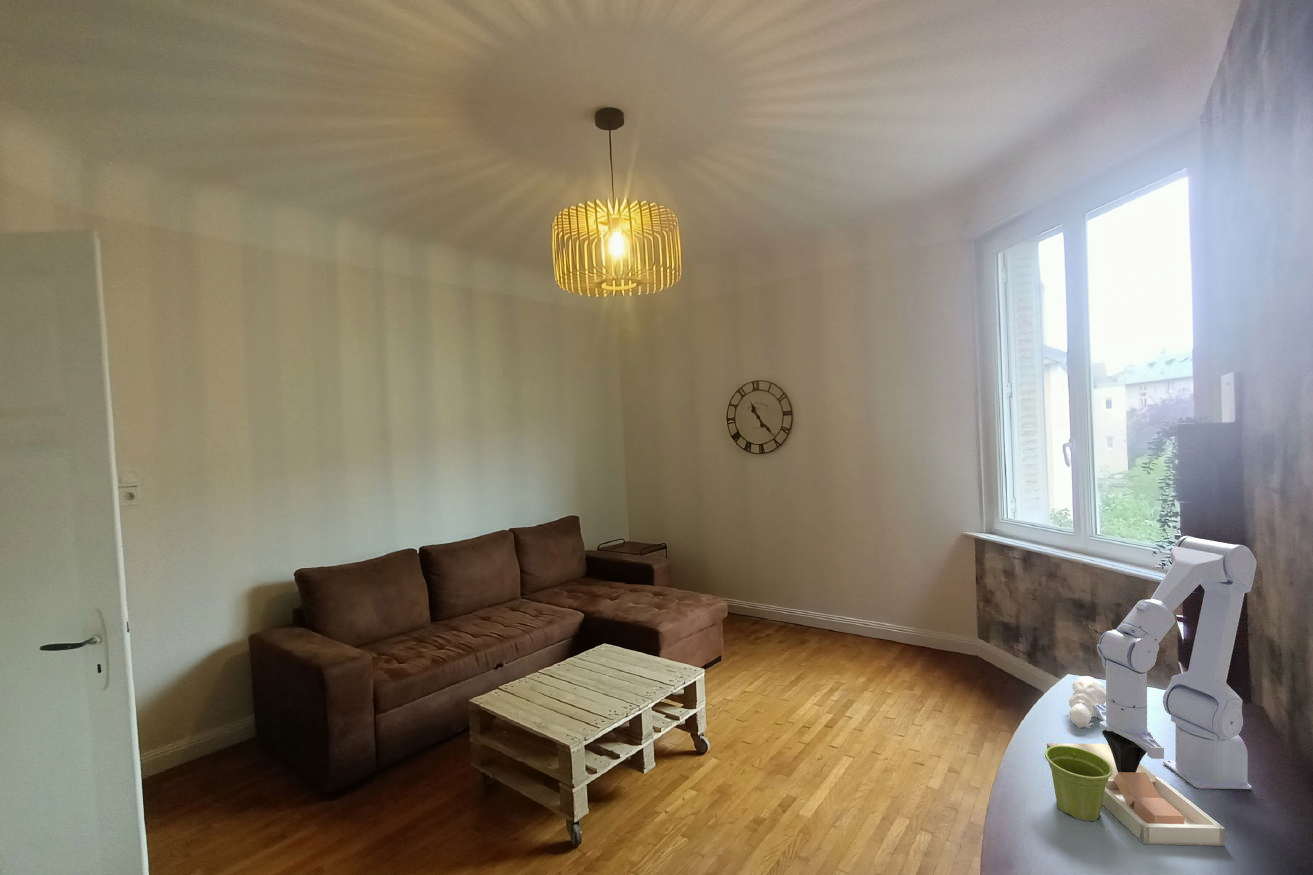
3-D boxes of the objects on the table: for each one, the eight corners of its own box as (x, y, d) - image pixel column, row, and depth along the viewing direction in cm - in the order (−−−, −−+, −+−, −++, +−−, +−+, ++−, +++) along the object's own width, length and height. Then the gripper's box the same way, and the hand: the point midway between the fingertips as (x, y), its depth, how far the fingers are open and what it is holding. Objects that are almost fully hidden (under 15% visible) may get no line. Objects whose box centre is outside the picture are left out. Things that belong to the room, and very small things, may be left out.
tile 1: (1140, 779, 104) (1145, 772, 103) (1156, 806, 101) (1162, 800, 99) (1113, 778, 105) (1118, 771, 103) (1128, 806, 101) (1134, 799, 100)
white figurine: (1108, 677, 130) (1095, 701, 123) (1109, 713, 131) (1096, 739, 123) (1074, 669, 135) (1059, 691, 127) (1075, 704, 136) (1060, 728, 128)
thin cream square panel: (1115, 753, 117) (1115, 743, 117) (1162, 792, 105) (1162, 781, 105) (1047, 752, 118) (1046, 743, 118) (1086, 791, 106) (1086, 780, 106)
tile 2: (1162, 812, 99) (1162, 797, 99) (1184, 830, 95) (1184, 815, 95) (1134, 811, 100) (1134, 797, 100) (1154, 830, 95) (1154, 815, 95)
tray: (1159, 792, 105) (1159, 777, 105) (1224, 845, 92) (1224, 828, 92) (1089, 791, 106) (1089, 776, 106) (1143, 843, 93) (1143, 826, 93)
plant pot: (1125, 831, 96) (1125, 779, 95) (1060, 825, 97) (1060, 774, 97) (1094, 794, 105) (1094, 747, 104) (1036, 789, 107) (1035, 743, 106)
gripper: (1076, 681, 112) (1076, 751, 112) (1132, 721, 97) (1132, 801, 98) (1115, 681, 111) (1115, 751, 112) (1177, 721, 97) (1177, 801, 97)
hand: (1126, 774), depth 105 cm, fingers closed
